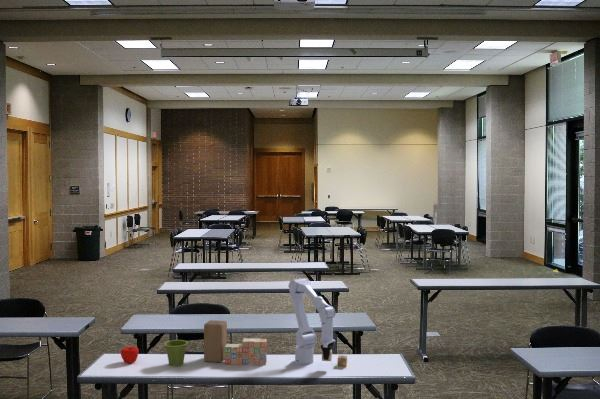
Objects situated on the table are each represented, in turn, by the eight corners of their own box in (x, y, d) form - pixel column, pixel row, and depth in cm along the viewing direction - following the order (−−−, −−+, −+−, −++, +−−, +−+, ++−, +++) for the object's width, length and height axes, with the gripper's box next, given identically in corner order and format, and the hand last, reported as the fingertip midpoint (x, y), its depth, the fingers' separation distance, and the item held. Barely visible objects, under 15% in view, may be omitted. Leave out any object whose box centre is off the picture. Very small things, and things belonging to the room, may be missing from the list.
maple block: (321, 360, 284) (321, 351, 284) (323, 358, 289) (323, 349, 289) (330, 361, 284) (331, 352, 284) (331, 358, 288) (331, 349, 288)
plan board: (319, 372, 283) (319, 371, 283) (322, 363, 299) (322, 362, 299) (347, 374, 281) (347, 373, 281) (349, 364, 296) (349, 363, 296)
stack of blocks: (224, 364, 296) (224, 341, 296) (226, 361, 303) (226, 337, 302) (265, 365, 296) (265, 341, 295) (266, 361, 302) (266, 338, 302)
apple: (121, 366, 293) (121, 350, 293) (119, 361, 301) (119, 346, 301) (139, 363, 297) (139, 348, 297) (137, 359, 305) (137, 344, 305)
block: (203, 362, 300) (203, 324, 300) (209, 356, 310) (209, 319, 310) (221, 363, 299) (221, 324, 298) (227, 357, 309) (227, 320, 308)
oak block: (337, 366, 291) (337, 357, 291) (338, 364, 296) (338, 355, 296) (346, 367, 290) (346, 358, 290) (347, 364, 295) (347, 355, 295)
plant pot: (163, 362, 300) (163, 340, 299) (186, 360, 303) (186, 339, 303) (165, 369, 288) (165, 346, 288) (189, 366, 292) (189, 344, 292)
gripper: (333, 335, 278) (333, 362, 278) (336, 327, 292) (336, 354, 293) (319, 334, 279) (318, 362, 280) (322, 327, 294) (322, 353, 294)
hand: (326, 358), depth 286 cm, fingers closed on maple block, 4 cm apart
